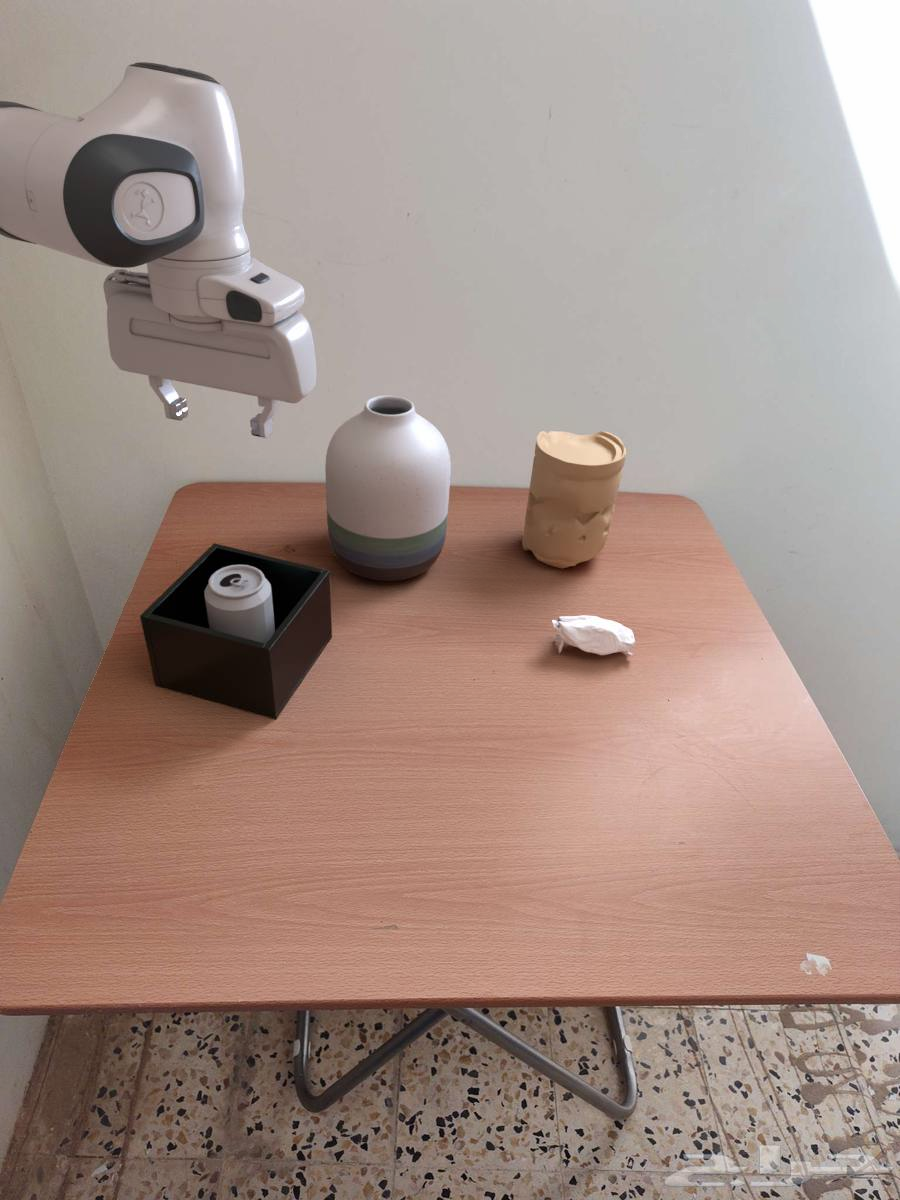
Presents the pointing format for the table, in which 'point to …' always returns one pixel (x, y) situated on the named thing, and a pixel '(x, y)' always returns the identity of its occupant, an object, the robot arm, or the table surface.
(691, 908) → the table surface
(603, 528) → the container
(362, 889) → the table surface
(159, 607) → the bin
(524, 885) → the table surface
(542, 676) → the table surface
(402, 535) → the vase
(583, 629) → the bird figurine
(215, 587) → the can
